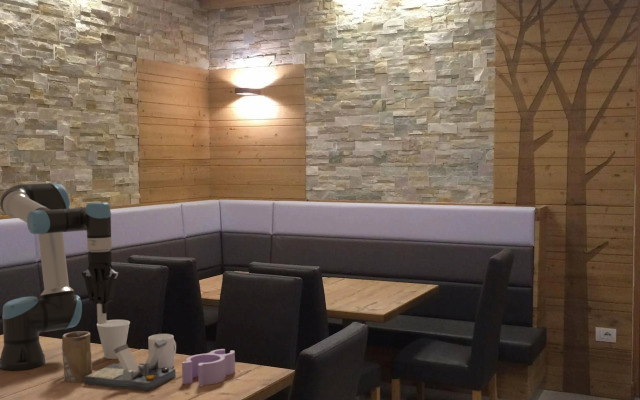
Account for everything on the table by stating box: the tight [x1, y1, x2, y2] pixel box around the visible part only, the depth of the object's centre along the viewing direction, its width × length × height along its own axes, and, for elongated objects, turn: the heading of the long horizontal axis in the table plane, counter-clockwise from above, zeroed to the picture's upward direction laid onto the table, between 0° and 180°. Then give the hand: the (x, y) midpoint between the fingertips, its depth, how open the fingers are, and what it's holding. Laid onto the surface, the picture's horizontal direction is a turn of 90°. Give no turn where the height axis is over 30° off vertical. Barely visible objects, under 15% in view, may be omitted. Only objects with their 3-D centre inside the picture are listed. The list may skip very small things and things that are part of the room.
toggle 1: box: [114, 343, 141, 377], centre depth 235 cm, size 2×5×11 cm, turn 161°
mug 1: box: [61, 330, 93, 383], centre depth 243 cm, size 9×13×15 cm
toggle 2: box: [144, 339, 167, 369], centre depth 242 cm, size 2×5×11 cm, turn 161°
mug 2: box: [147, 333, 177, 369], centre depth 256 cm, size 9×12×11 cm
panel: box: [83, 359, 176, 392], centre depth 240 cm, size 24×17×6 cm
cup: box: [96, 319, 131, 360], centre depth 270 cm, size 12×12×12 cm
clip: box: [181, 348, 236, 387], centre depth 243 cm, size 20×12×7 cm, turn 150°
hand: (102, 323), depth 238 cm, fingers closed
